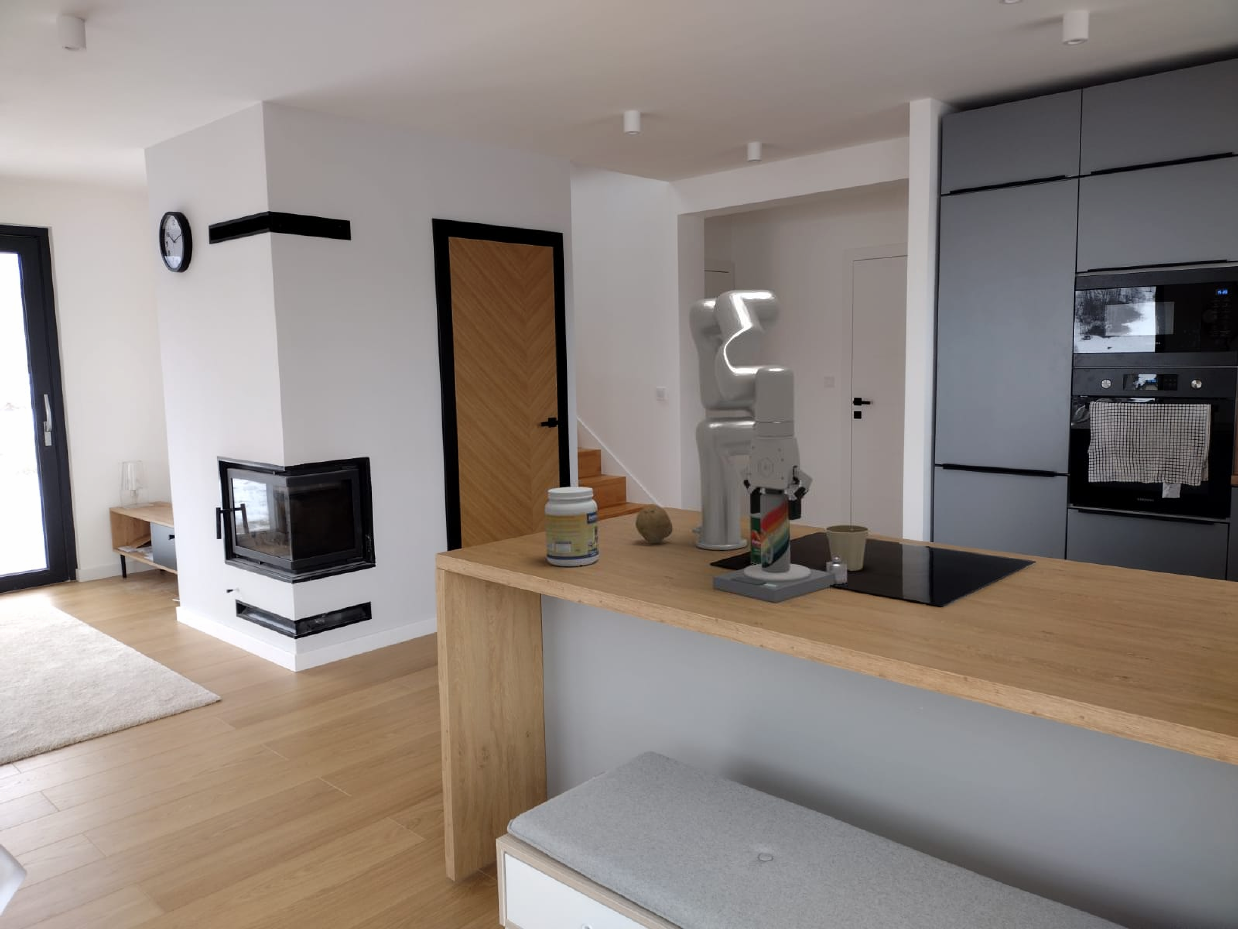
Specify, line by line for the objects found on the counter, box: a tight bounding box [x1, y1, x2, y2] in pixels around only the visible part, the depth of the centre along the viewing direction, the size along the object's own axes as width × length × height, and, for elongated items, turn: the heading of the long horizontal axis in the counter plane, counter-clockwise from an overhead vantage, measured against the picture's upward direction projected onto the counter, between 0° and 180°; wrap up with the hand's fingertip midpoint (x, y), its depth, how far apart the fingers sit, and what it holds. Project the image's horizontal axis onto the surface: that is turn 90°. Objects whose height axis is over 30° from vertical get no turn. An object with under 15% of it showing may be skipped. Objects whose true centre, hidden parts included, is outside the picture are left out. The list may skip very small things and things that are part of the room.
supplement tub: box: [544, 486, 600, 567], centre depth 204 cm, size 12×12×17 cm
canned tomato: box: [749, 513, 761, 565], centre depth 196 cm, size 8×8×11 cm
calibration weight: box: [825, 557, 848, 584], centre depth 177 cm, size 4×4×5 cm
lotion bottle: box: [760, 488, 791, 573], centre depth 175 cm, size 6×6×20 cm
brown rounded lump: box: [635, 503, 673, 545], centre depth 223 cm, size 9×9×10 cm
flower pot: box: [823, 524, 871, 572], centre depth 189 cm, size 9×9×9 cm
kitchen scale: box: [712, 563, 835, 604], centre depth 175 cm, size 16×18×3 cm
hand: (775, 516), depth 175 cm, fingers open, 9 cm apart
